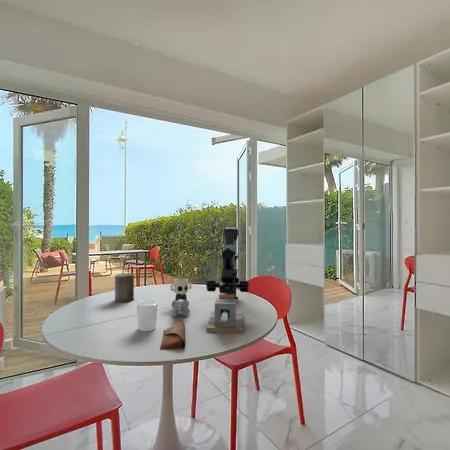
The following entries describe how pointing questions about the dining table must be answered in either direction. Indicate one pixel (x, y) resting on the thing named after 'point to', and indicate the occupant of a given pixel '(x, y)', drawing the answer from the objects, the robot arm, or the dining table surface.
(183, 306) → the elephant statuette
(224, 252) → the robot arm
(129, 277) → the pillar candle
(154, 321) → the white cup
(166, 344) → the sunglasses case
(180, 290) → the character mug
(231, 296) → the shaft
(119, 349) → the dining table surface
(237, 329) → the bearing base
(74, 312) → the dining table surface
